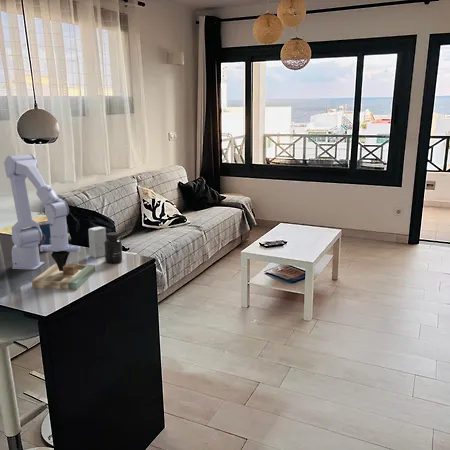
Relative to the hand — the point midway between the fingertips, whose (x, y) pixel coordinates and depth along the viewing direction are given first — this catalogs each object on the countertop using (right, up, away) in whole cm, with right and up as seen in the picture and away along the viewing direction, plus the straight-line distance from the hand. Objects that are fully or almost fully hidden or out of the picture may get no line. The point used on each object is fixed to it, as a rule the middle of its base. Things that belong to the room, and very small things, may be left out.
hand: (62, 270), depth 164 cm
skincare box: (+6, +3, +27) cm, 28 cm away
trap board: (+1, -3, +1) cm, 4 cm away
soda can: (-20, +6, +35) cm, 41 cm away
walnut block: (+3, -1, 0) cm, 3 cm away
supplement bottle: (+14, +1, +20) cm, 24 cm away
